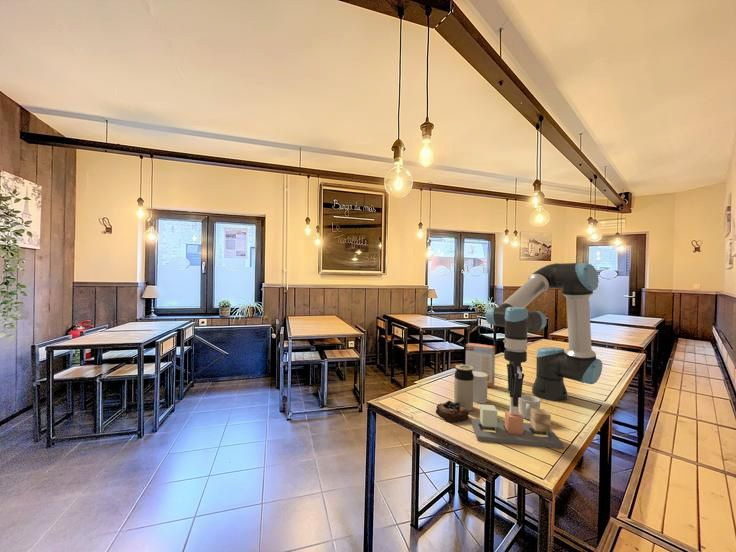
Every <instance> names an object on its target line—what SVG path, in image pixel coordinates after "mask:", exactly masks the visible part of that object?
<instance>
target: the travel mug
mask: <svg viewBox="0 0 736 552" xmlns="http://www.w3.org/2000/svg"><path fill="white" fill-rule="evenodd" d="M472 370H473V367H472V366H469V365H466V364H455V371H454V381H453V382H454V383H453V384H454V385H453V387H454V388H453V389H454V391H453V392H454V393H453V402H459V404H460V406H461V407H464V408H466V409H468V412H469V411H472V410H473V409H474V402H473V383H474V375H473V373H472Z"/></svg>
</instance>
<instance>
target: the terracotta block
mask: <svg viewBox="0 0 736 552" xmlns="http://www.w3.org/2000/svg"><path fill="white" fill-rule="evenodd" d="M524 419H525V418H523V417H522V415H521V414H520V412H519V415H511V414H510V410H509V411H507V410H505V411H504V421H505V428H506V432H507V433H508V434H520V435H523V423H524Z"/></svg>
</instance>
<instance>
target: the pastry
mask: <svg viewBox="0 0 736 552" xmlns="http://www.w3.org/2000/svg"><path fill="white" fill-rule="evenodd" d="M435 414H436V415H437V414H438V415H439V418H441V419H442V418H443V421H445V422H446V423H449V424H450V423H451V424H452V423H453V424H455V423H460V422H465V421H467V420H469V418H470V417H469V415H470V414H469V411H468V409H466V408H464V407H461V406H460V404H459V402H454V401H452V400H448V401H446V402H443V403H442V402H439V403H438V404H437V405H436V410H435ZM438 415H437V416H438Z"/></svg>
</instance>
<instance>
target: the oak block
mask: <svg viewBox="0 0 736 552" xmlns="http://www.w3.org/2000/svg"><path fill="white" fill-rule="evenodd" d="M551 418H552V416H551V414H550V413H549V411H547V410H546V409H545V408H540V409H535V408H531V419H530V420H529V421H530V422H529V423H530V424H531V426H532V427H533V428H534V430H535V431H544V432H550V429H551V420H552V419H551Z"/></svg>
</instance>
